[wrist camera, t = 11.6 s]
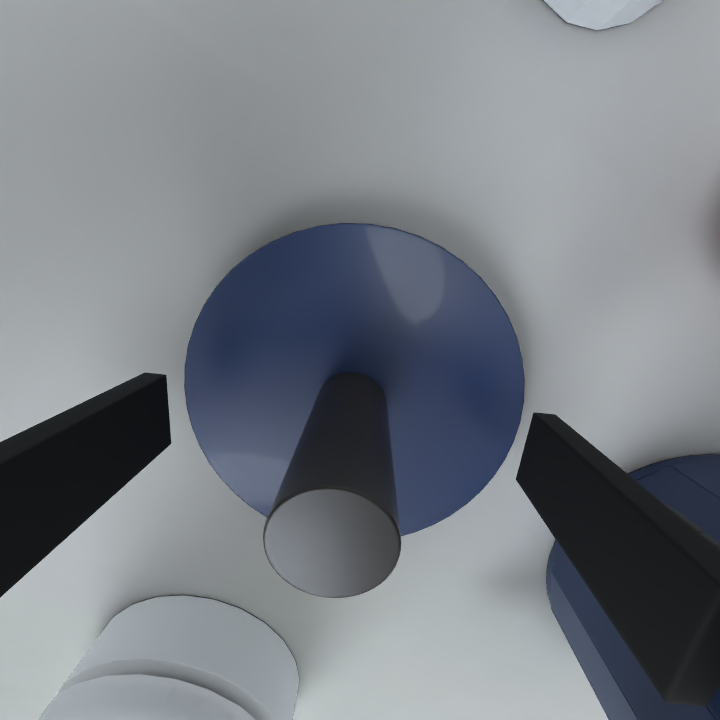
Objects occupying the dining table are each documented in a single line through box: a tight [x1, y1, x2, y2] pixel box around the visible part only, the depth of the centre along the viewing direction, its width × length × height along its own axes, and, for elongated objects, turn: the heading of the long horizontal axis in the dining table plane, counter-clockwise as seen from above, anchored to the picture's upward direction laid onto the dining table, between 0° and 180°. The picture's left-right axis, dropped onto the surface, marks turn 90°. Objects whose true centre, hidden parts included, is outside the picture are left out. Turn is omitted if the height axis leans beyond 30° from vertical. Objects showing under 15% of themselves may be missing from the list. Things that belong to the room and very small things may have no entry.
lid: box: [184, 223, 525, 598], centre depth 11 cm, size 15×15×9 cm
